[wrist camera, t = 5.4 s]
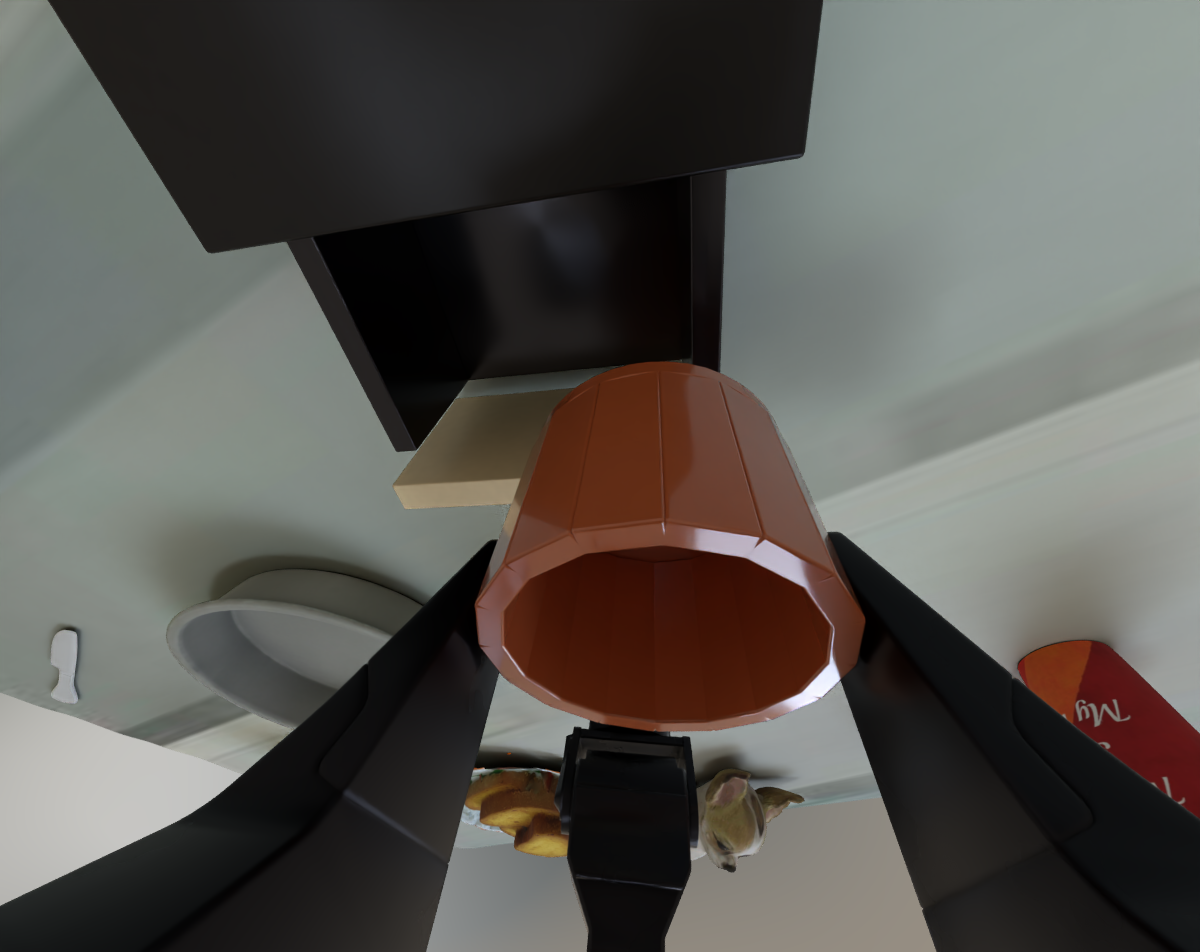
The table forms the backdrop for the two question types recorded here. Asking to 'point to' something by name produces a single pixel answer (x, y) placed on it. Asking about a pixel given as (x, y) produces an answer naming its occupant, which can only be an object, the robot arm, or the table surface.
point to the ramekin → (666, 561)
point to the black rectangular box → (439, 101)
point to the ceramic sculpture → (735, 817)
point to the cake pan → (286, 639)
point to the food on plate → (517, 808)
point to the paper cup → (1119, 714)
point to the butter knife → (65, 665)
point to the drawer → (516, 316)
